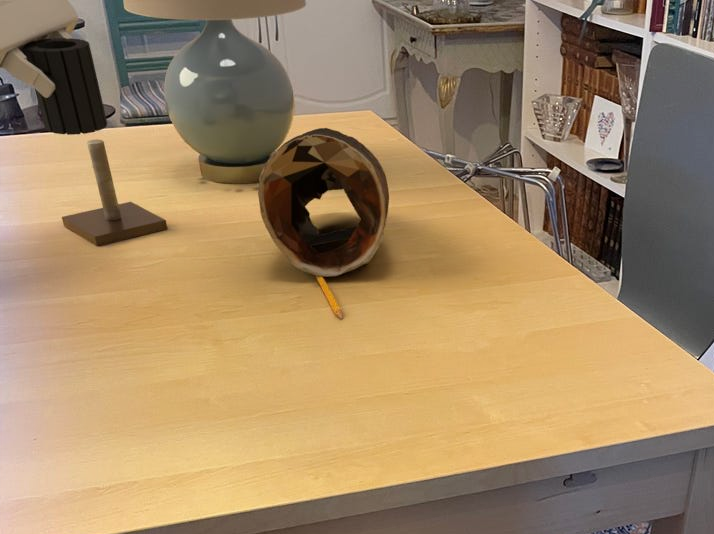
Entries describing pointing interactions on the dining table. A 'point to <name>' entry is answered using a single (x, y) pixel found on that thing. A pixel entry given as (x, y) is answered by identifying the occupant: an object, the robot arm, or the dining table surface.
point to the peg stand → (111, 209)
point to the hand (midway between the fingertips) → (71, 83)
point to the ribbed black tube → (68, 86)
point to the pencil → (329, 296)
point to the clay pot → (311, 180)
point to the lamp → (226, 86)
